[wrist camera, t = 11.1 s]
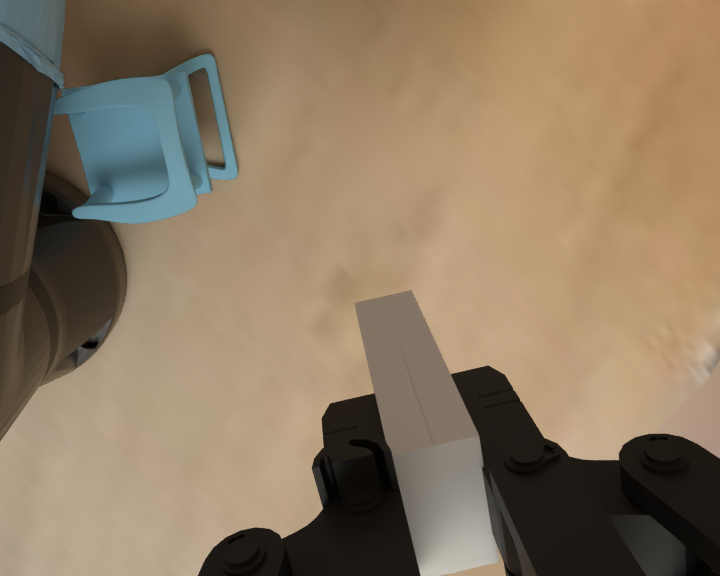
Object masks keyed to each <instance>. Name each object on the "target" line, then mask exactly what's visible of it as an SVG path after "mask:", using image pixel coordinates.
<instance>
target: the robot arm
mask: <svg viewBox="0 0 720 576" xmlns="http://www.w3.org/2000/svg"><path fill="white" fill-rule="evenodd" d="M65 13H66V1H65V0H0V441H1V440H2V438H3V437H4V435H5V434H6V433H7V431H8V430H9V428H10V427H11V425H12V424H13V423H14V421H15V420H16V418H17V417H18V415H19V414H20V413H21V411H22V410H23V408H24V407H25V406H26V404H27V403H28V401H29V400H30V398H31V397H32V396H33V394H34V393H35V391H36V390H37V388H38V387H40V386H42V385H44V384H47V383H49V382H51V381H53V380H55V379H57V378H60V377H62V376H64V375H66V374H68V373H70V372H71V371H73V370H75V369H76V368H78V367H79V366H81V365H82V364H83V363H85V362H86V361H87V360H88V359H89V358H90V357H91V356H92V355H93V354H94V353H96V352H97V350H98V349H99V348H100V347H101V346H102V344H103V343H104V341H105V340H106V338H107V337H108V335H109V334H110V332H111V330H112V329H113V327H114V325H115V324H116V322H117V320H118V318H119V316H120V313H121V310H122V307H123V304H124V300H125V294H126V268H125V262H124V257H123V254H122V250H121V247H120V245H119V242H118V240H117V238H116V236H115V233H114V232H113V230H112V228H111V226H110V225H109V223H108V222H107V221H105V220H98V219H79V218H75V217H74V216H73V215H72V211H73V209H75V208H77V207H79V206H81V205H83V204H85V203H86V202H87V201H88V198H87V197H86V196H85V195H84V194H82V193H81V192H80V191H79V190H78V189H76V188H75V187H74V186H72V185H71V184H69V183H68V182H66V181H65V180H63V179H61V178H60V177H58V176H56V175H54V174H52V173H50V172H48V171H46V170H45V169H46V162H47V155H48V149H49V142H50V135H51V128H52V121H53V114H54V108H55V101H56V94H57V89H63V86H64V76H63V74H62V72H61V71H60V64H61V54H62V44H63V34H64V24H65ZM354 304H355V308H356V313H357V317H358V322H359V326H360V331H361V335H362V339H363V344H364V348H365V353H366V357H367V362H368V366H369V370H370V375H371V379H372V384H373V388H374V394H370V395H365V396H361V397H356V398H352V399H348V400H343V401H339V402H335V403H330V405H329V406H328V408H327V410H326V412H325V414H324V415H323V417H322V429H323V442H324V448H323V449H322V450H321V451H320V452H319V453H318V455H317V456H316V457H315V458H314V462H313V466H312V470H313V474H314V478H315V481H316V485H317V488H318V492H319V495H320V499H321V502H322V506H323V510H322V511H321V512H320V514H319V515H318V516H317V518H315V519H314V520H313V521H312V522H311V523H310V524H308V525H307V526H305V527H304V528H302V529H300V530H299V531H297V532H295V533H293V534H291V535H289V536H287V537H285V538H283V539H281V537H280V535H279V534H277V533H276V532H274V531H272V530H270V529H265V528H251V529H246V530H241V531H239V532H237V533H234V534H232V535H230V536H228V537H226V538H225V539H224V540H222V541H221V542H220V543H219V544H217V545H216V546H215V547H214V548H213V549H212V551H211V552H210V554H209V555H208V556H207V558H206V559H205V561H204V563H203V566H202V568H201V570H200V572H199V574H198V576H441V575H446V574H450V573H454V572H458V571H463V570H467V569H471V568H476V567H480V566H484V565H488V564H493V563H497V562H499V556H498V550H497V546H498V549H499V551H500V554H501V556H502V559H503V561H504V566H505V572H506V576H720V458H718V457H716V456H715V455H713V454H712V453H710V452H709V451H707V450H706V449H704V448H702V447H701V446H700V445H698V444H696V443H694V442H692V441H690V440H688V439H685V438H683V437H679V436H674V435H670V434H647V435H643V436H639V437H635V438H633V439H632V440H630V441H629V442H627V443H626V444H624V445H623V447H622V449H621V451H620V453H619V460H582V459H577V458H573V457H569V456H568V454H567V453H566V451H565V450H564V449H562V448H561V447H560V446H559V445H558V444H557V443H555V442H552V441H550V440H548V439H545V438H544V437H543V436H542V434H541V432H540V431H539V429H538V428H537V426H536V424H535V423H534V421H533V420H532V418H531V416H530V415H529V413H528V412H527V410H526V408H525V407H524V405H523V403H522V402H520V399H519V397H518V395H517V394H516V392H515V391H514V390H513V387H512V386H511V384H510V383H509V381H508V379H507V378H506V376H505V375H504V374H502V373H500V372H499V371H497V370H495V369H493V368H492V367H490V366H484V367H480V368H476V369H471V370H467V371H463V372H458V373H454V374H450V372H449V370H448V368H447V366H446V363H445V361H444V359H443V357H442V355H441V353H440V351H439V348H438V346H437V344H436V342H435V340H434V338H433V335H432V333H431V331H430V329H429V327H428V325H427V323H426V320H425V318H424V316H423V314H422V312H421V310H420V307H419V305H418V303H417V301H416V299H415V297H414V295H413V292H412V290H410V291H406V292H401V293H397V294H393V295H388V296H384V297H379V298H375V299H371V300H366V301H362V302H357V303H354Z"/></svg>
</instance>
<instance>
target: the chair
mask: <svg viewBox="0 0 720 576" xmlns="http://www.w3.org/2000/svg"><path fill="white" fill-rule="evenodd" d="M201 68H205V69H206V71H207V74H208V79H209V84H210V89H211V94H212V99H213V104H214V109H215V114H216V119H217V125H218V130H219V135H220V140H221V145H222V150H223V155H224V160H225V167H219V166H214V165H210V164H207V161H206V157H205V153H204V149H203V145H202V140H201V136H200V131H199V126H198V122H197V117H196V112H195V107H194V102H193V97H192V93H191V88H190V83H189V79H188V76H189V75H190V74H192V73H194V72H195V71H197V70H199V69H201ZM60 91H61V94H62V97H61V98H57V99H56V101H55V108H54V114H53V115H59V114H67V115H68V118H69V121H70V124H71V127H72V130H73V133H74V137H75V140H76V143H77V147H78V150H79V153H80V157H81V160H82V164H83V168H84V171H85V175H86V179H87V183H88V187H89V190H90V194H91V197H90V198H89V199H88V201H87V202H86V203H85V204H83V205H81V206H79V207H77V208H75V209H73V211H72V215H73V216H74V217H75V218H79V219H98V220H105V221H111V222H118V223H131V224H138V223H148V222H153V221H158V220H162V219H166V218H170V217H173V216H176V215H179V214H181V213H184V212H186V211H188V210H190V209H192V208H193V207H195V205H196V204H197V196H196V195H198V194H204V193H211V191H212V190H213V188H212V183H211V179H220V180H232V179H235V178H236V177H237V175H238V166H237V162H236V157H235V152H234V147H233V142H232V137H231V133H230V128H229V123H228V118H227V113H226V108H225V104H224V99H223V94H222V89H221V84H220V79H219V75H218V70H217V65H216V61H215V58H214V57H213V55H211V54H204V55H200V56H197V57H195V58H192V59H190V60H188V61H186V62H184V63H182V64H180V65H178V66H176V67H175V68H173V69H171V70H169V71H167V72H166V73H164V74H162V75H158V76H151V77H133V78H124V79H118V80H111V81H107V82H103V83H98V84H95V85H89V86H82V87H75V88H68V89H63V90H60ZM210 178H211V179H210Z"/></svg>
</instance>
